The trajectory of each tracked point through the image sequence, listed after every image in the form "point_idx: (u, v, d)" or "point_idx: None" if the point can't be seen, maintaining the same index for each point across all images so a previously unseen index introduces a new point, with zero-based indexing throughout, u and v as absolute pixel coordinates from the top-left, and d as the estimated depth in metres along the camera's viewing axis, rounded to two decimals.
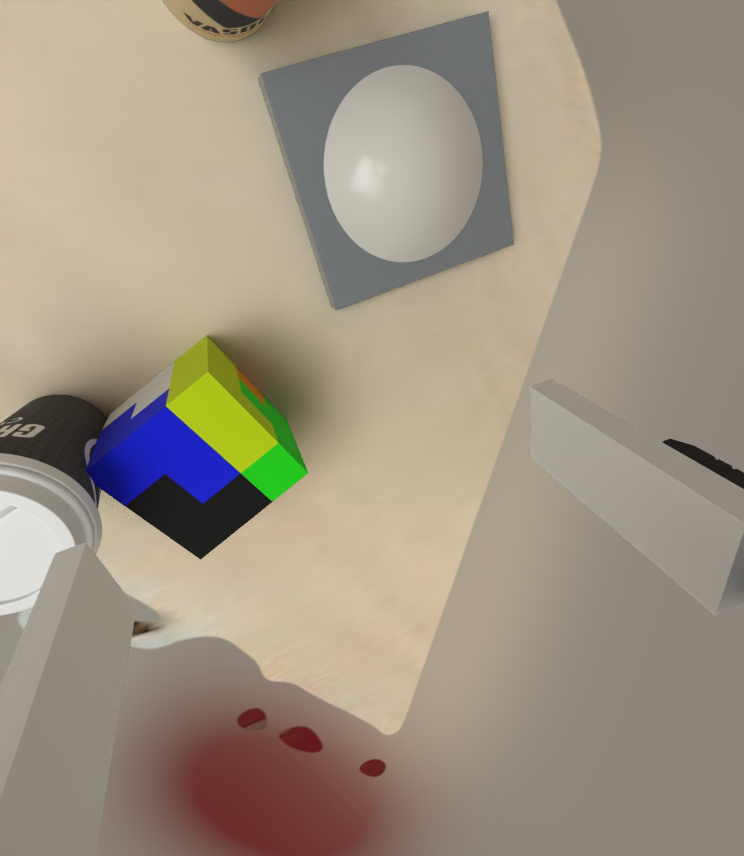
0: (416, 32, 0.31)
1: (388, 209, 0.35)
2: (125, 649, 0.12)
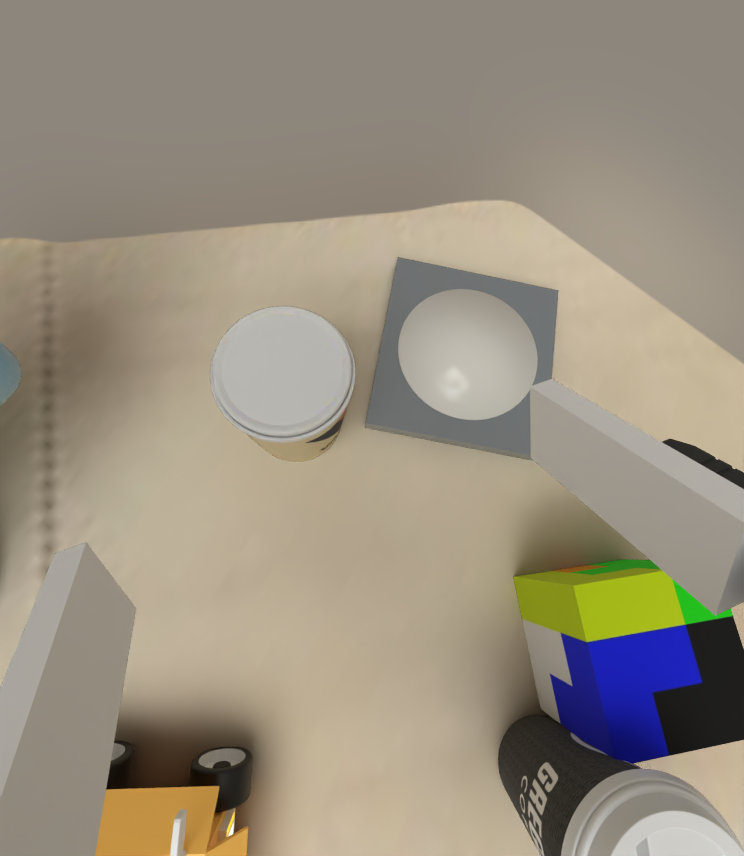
0: (388, 308, 0.42)
1: (488, 377, 0.41)
2: (125, 649, 0.12)
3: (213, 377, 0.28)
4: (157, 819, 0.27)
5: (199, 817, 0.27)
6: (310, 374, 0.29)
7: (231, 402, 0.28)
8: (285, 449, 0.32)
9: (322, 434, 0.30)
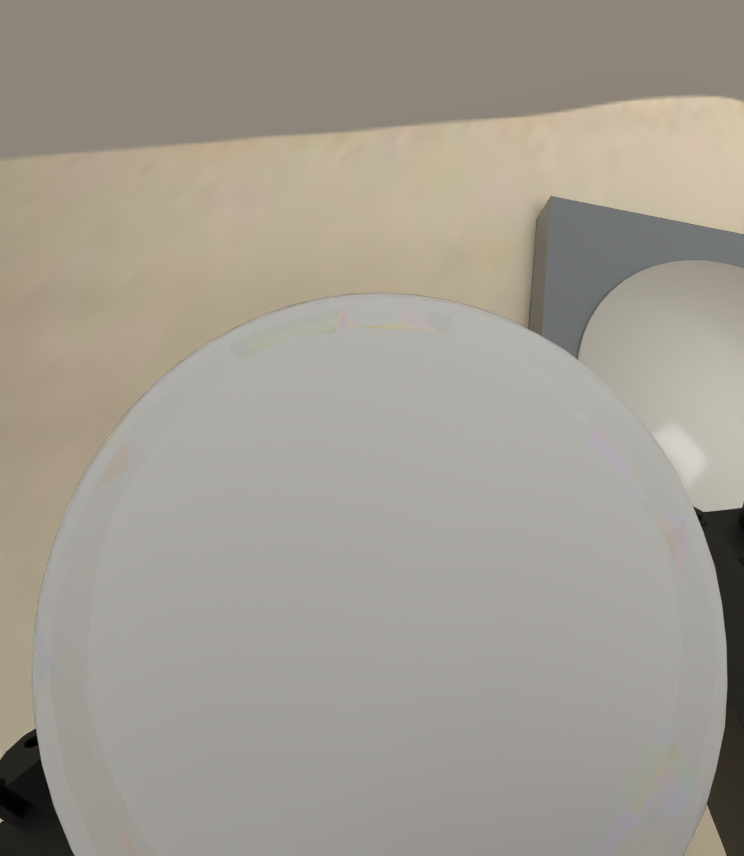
0: (545, 304, 0.19)
1: None
2: None
3: (36, 682, 0.05)
4: None
5: None
6: (534, 623, 0.06)
7: (132, 836, 0.05)
8: None
9: None
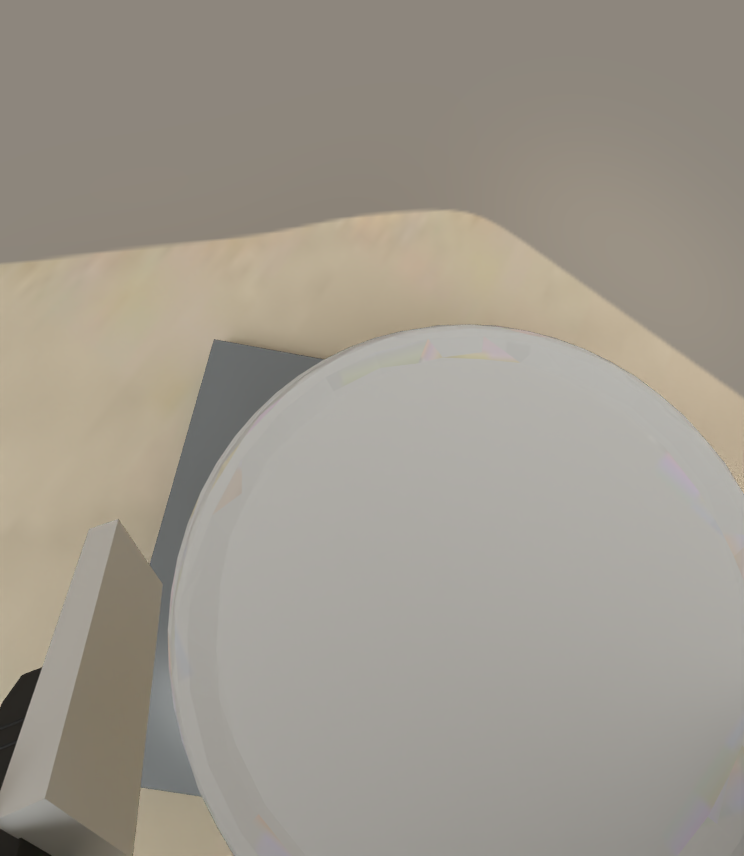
0: (180, 463, 0.19)
1: None
2: (155, 621, 0.12)
3: (177, 683, 0.06)
4: None
5: None
6: (614, 634, 0.06)
7: (266, 817, 0.06)
8: None
9: None
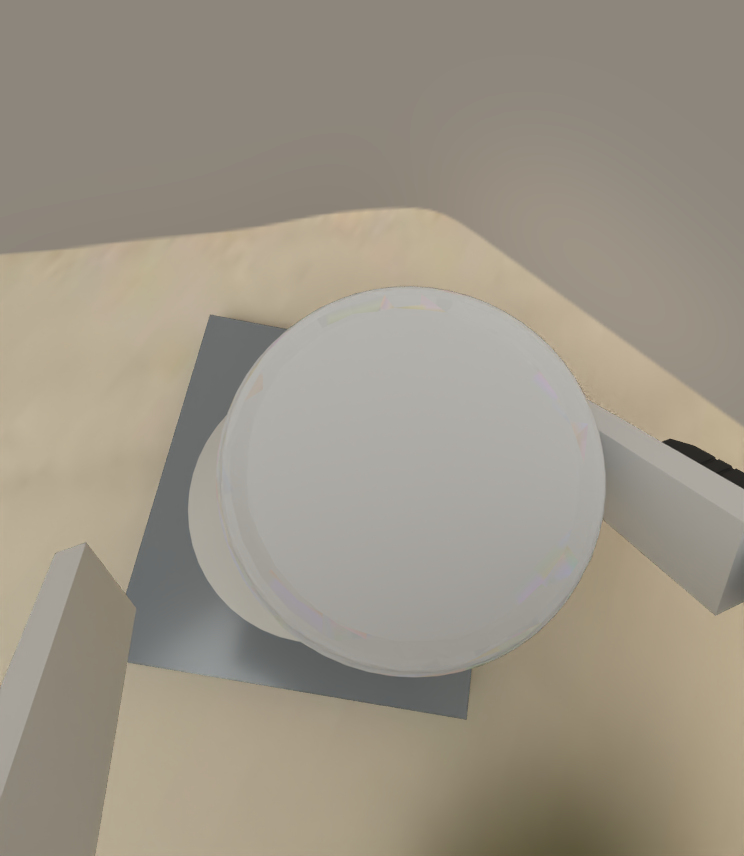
0: (181, 414, 0.23)
1: None
2: (125, 649, 0.12)
3: (224, 495, 0.10)
4: None
5: None
6: (492, 479, 0.10)
7: (275, 571, 0.10)
8: None
9: None
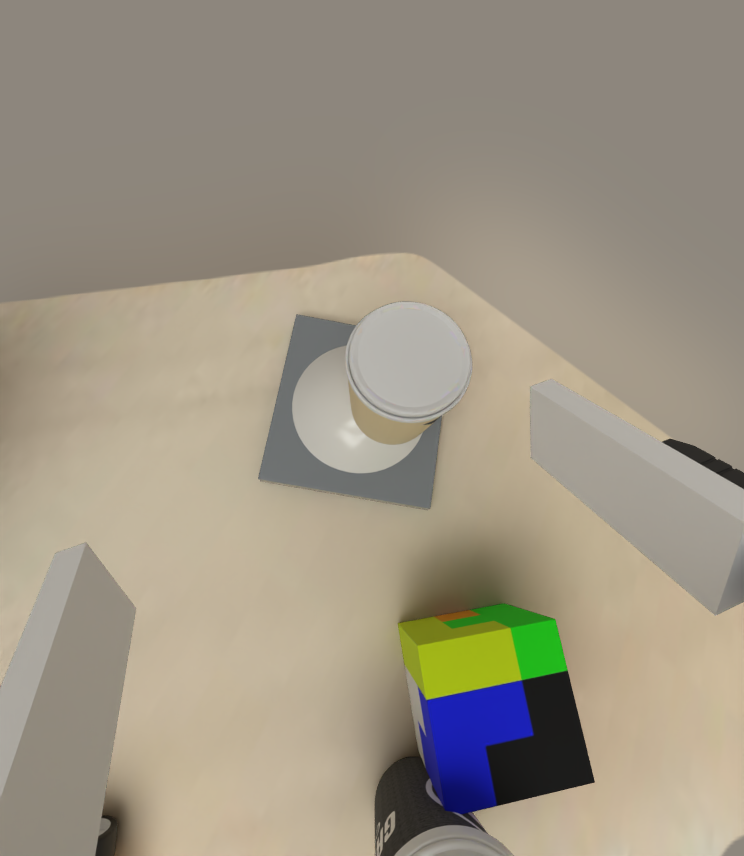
0: (285, 365, 0.44)
1: None
2: (125, 649, 0.12)
3: (351, 363, 0.32)
4: None
5: None
6: (435, 362, 0.32)
7: (367, 386, 0.31)
8: (400, 430, 0.35)
9: (438, 417, 0.34)
